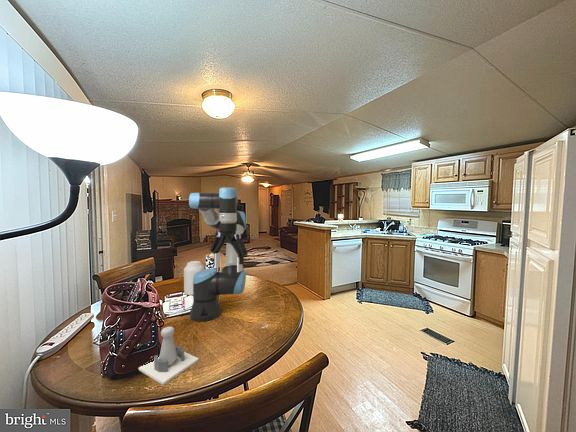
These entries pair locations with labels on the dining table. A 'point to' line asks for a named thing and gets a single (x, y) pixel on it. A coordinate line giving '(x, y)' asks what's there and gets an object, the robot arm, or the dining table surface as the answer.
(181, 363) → the square base with blocks
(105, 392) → the dining table surface
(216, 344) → the dining table surface
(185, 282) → the can
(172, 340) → the salt shaker
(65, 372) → the dining table surface
